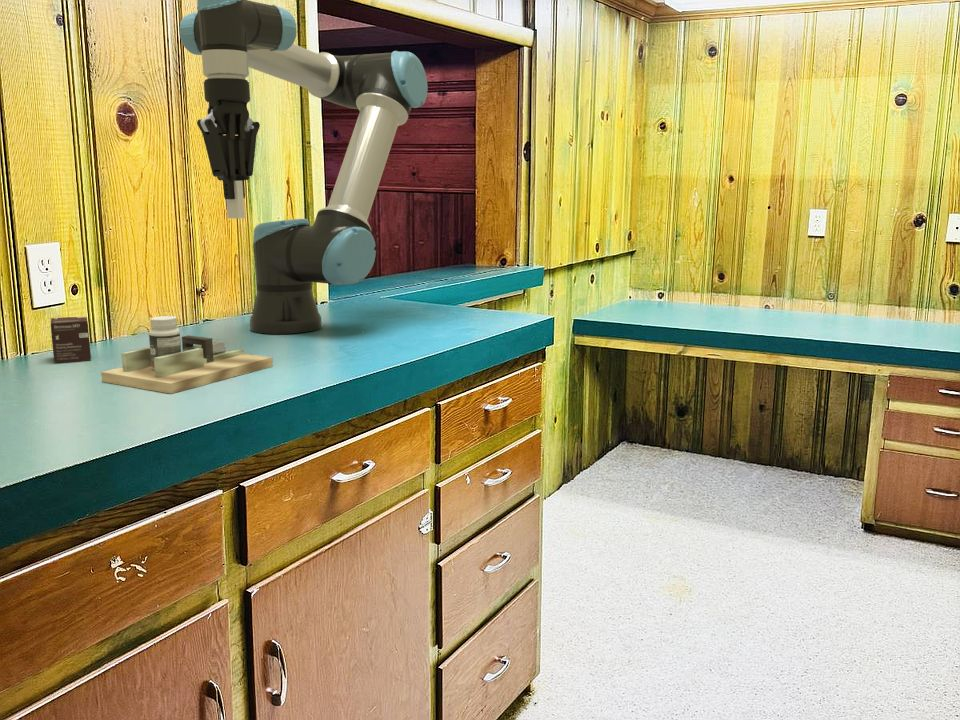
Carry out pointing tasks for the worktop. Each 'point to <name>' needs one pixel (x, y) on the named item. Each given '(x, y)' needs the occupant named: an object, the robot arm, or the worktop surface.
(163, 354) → the pill bottle
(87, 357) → the box
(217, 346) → the pin
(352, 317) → the worktop surface
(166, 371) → the mount
